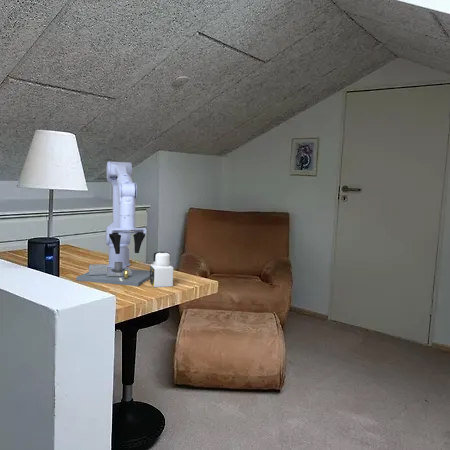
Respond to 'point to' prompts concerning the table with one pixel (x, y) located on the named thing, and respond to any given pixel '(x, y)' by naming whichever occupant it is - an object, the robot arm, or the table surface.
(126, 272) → the dowel
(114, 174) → the robot arm
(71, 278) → the table surface
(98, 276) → the board
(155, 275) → the medicine bottle
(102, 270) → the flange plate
